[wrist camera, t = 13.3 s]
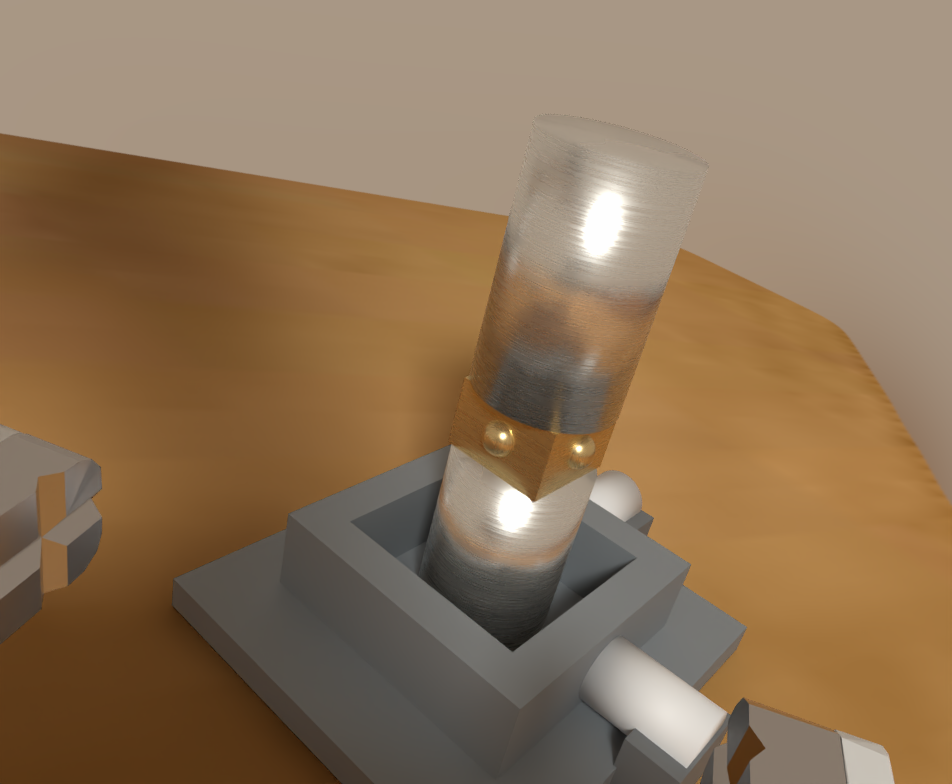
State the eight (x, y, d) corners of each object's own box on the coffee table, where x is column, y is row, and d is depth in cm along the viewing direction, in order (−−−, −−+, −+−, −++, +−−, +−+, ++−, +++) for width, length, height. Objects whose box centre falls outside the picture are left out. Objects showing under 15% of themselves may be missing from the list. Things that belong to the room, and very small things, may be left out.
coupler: (386, 592, 25) (497, 113, 18) (474, 542, 28) (598, 115, 21) (485, 678, 23) (651, 175, 16) (569, 615, 26) (739, 167, 19)
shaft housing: (172, 605, 24) (176, 507, 22) (484, 459, 34) (503, 385, 33) (534, 986, 17) (580, 886, 16) (790, 663, 27) (833, 582, 26)
